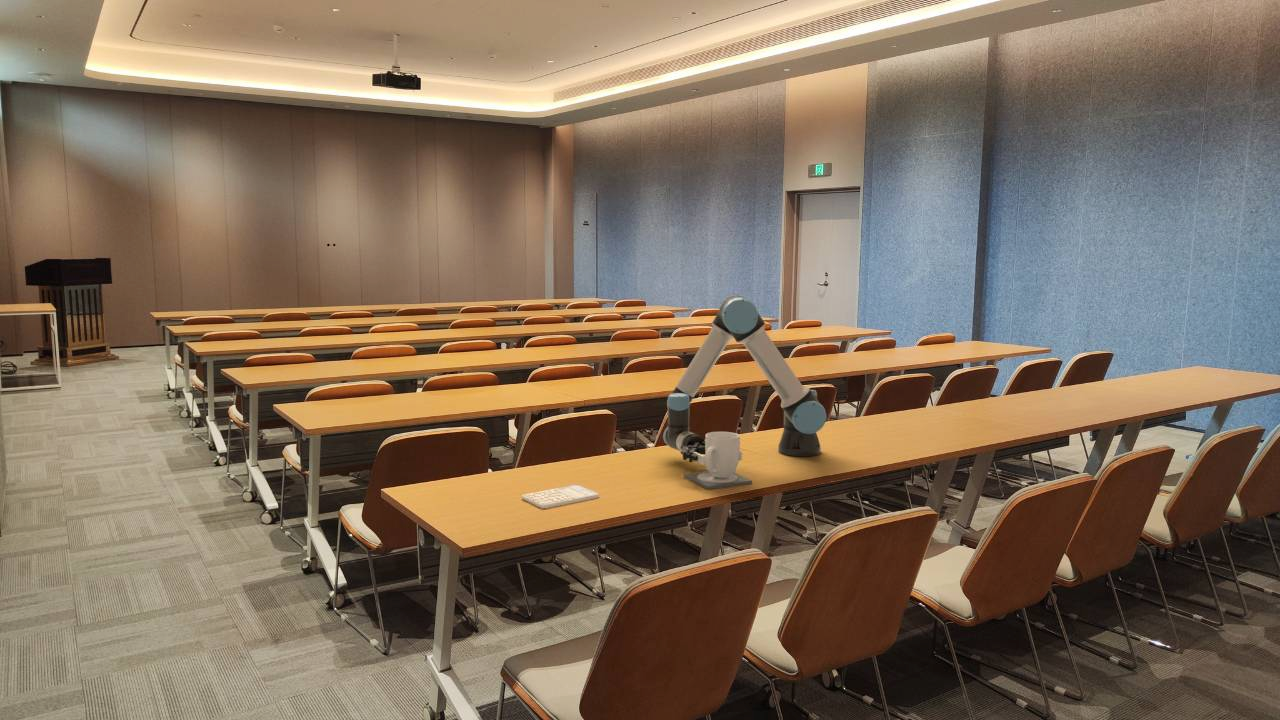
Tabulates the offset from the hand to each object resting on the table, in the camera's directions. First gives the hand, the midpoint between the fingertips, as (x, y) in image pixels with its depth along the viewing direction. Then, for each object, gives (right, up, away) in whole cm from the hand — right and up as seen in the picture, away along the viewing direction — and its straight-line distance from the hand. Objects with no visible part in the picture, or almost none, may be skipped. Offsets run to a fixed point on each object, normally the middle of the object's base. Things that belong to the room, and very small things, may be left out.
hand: (722, 458), depth 273 cm
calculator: (-50, -11, -14) cm, 53 cm away
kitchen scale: (-1, -7, +4) cm, 9 cm away
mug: (-1, -6, +2) cm, 6 cm away
